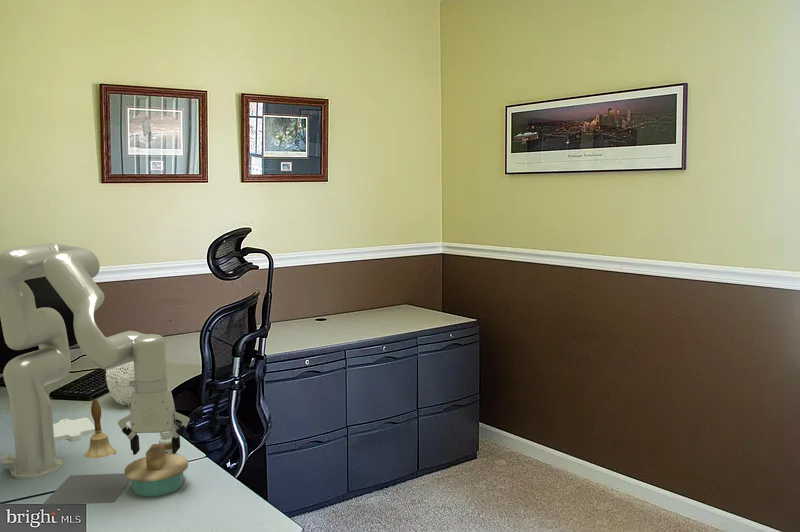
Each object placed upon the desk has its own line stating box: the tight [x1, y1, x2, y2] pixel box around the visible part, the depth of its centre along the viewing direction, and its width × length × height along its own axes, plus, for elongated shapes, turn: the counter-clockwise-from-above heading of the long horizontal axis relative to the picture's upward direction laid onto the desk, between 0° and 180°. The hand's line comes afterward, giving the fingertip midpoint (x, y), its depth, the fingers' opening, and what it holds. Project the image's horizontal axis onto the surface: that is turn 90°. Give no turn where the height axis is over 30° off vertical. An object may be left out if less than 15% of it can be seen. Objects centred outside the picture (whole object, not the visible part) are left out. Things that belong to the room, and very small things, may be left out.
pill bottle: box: [158, 431, 177, 455], centre depth 207 cm, size 4×4×8 cm
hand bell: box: [84, 398, 117, 459], centre depth 210 cm, size 8×8×16 cm
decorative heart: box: [105, 361, 135, 408], centre depth 253 cm, size 18×11×17 cm, turn 35°
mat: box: [41, 473, 132, 506], centre depth 187 cm, size 17×17×1 cm
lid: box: [124, 443, 189, 481], centre depth 187 cm, size 15×15×5 cm
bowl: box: [131, 471, 185, 497], centre depth 187 cm, size 12×12×5 cm
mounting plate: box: [53, 416, 95, 442], centre depth 229 cm, size 18×13×2 cm
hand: (156, 452), depth 186 cm, fingers open, 9 cm apart
